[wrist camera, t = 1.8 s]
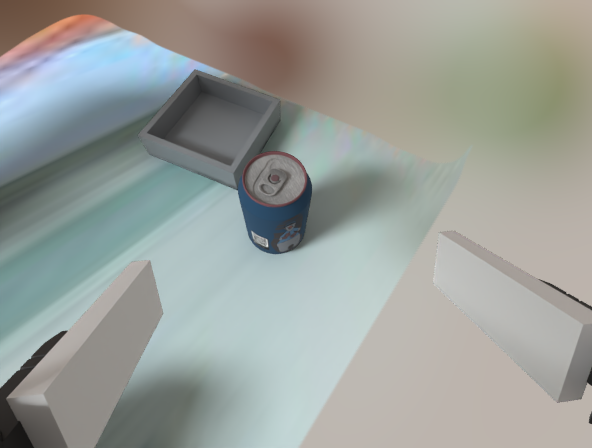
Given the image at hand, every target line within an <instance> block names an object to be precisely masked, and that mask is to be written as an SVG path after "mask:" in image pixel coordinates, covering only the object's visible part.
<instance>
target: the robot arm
mask: <svg viewBox="0 0 592 448" xmlns="http://www.w3.org/2000/svg"><path fill="white" fill-rule="evenodd" d="M433 284H434V285H435V286H436V287H437V288H438V289H439V290H440V291H441V292H442V293H443V294H445V295H446V296H447V297H448V298H449V299H450V300H451V301H452V302H453V303H454V304H455V305H456V306H457V307H458V308H459V309H460V310H461V311H462V312H463V313H464V314H465V315H466V316H467V317H468V318H470V319H471V320H472V321H473V322H474V323H475V324H476V325H477V326H478V327H479V328H480V329H481V330H482V331H483V332H484V333H485V334H486V335H487V336H488V337H489V338H490V339H491V340H493V342H494V343H496V344H497V345H498V346H499V347H500V348H501V349H502V350H503V351H504V352H505V353H506V354H507V355H508V356H509V357H510V358H511V359H512V360H513V361H514V362H515V363H516V364H517V365H518V366H520V367H521V368H522V369H523V370H524V371H525V372H526V373H527V374H528V375H529V376H530V377H531V378H532V379H533V380H534V381H535V382H536V383H537V384H538V385H539V386H540V387H541V388H542V389H543V390H544V391H546V392H547V393H548V394H549V395H550V396H551V397H552V398H553V399H554V400H555V401H556V402H557V403H559V402H566V401H572V400H578V399H582V396H583V393H584V390H585V388H586V385H587V382H588V383H589V384H590V385H591V386H592V307H591V306H589V305H587V304H586V303H584V302H582V301H579V300H578V299H577V298H575V297H574V296H572V295H570V294H566V292H565V291H563V290H561V289H559V288H558V287H556V286H554V285H552V284H550V283H547V282H545V281H542V280H540V279H537V278H535V277H533V276H531V275H530V274H528V273H526V272H524V271H523V270H521V269H519V268H518V267H516V266H514V265H513V264H511V263H509V262H507V261H506V260H503V259H502V258H500V257H499V256H497V255H495V254H493V253H492V252H490V251H488V250H487V249H485V248H483V247H481V246H480V245H478V244H476V243H474V242H473V241H471V240H469V239H468V238H466V237H464V236H462V235H461V234H459V233H457V232H456V231H447V232H439V237H438V246H437V254H436V262H435V270H434V279H433ZM162 315H163V310H162V306H161V302H160V298H159V294H158V290H157V286H156V282H155V278H154V274H153V270H152V266H151V262H150V260H145V261H134V262H131V263H130V264H129V265H128V266H127V267H126V268H125V269H124V271H123V272H122V273H121V274H120V275H119V276H118V277H117V278H116V279H115V280H114V281H113V283H112V284H111V285H110V286H109V287H108V288H107V289H106V290H105V291H104V292H103V293H102V295H101V296H100V297H99V298H98V299H97V300H96V301H95V302H94V303H93V304H92V305H91V307H90V308H89V309H88V310H87V311H86V312H85V313H84V314H83V315H82V316H81V317H80V319H79V320H78V321H77V322H76V323H75V324H74V325H73V326H72V327H71V328H70V329H69V331H62V332H60V333H59V334H57V335H56V336H54V337H53V338H51V339H50V340H48V341H47V342H45V343H44V344H43V345H42V346H41V347H40V348H39V349H38V350H37V351H36V352H35V353H34V354H33V355H32V356H31V359H28V360H27V362H26V363H25V364H24V365H23V366H22V367H21V369H20V370H19V371H17V372H16V373H15V374H14V375H13V376H12V377H11V378H10V379H9V380H8V381H7V382H6V383H5V384H4V385H3V386H2V387H1V388H0V448H95V446H96V444H97V442H98V440H99V438H100V436H101V434H102V432H103V430H104V428H105V426H106V425H107V423H108V421H109V419H110V417H111V415H112V413H113V411H114V409H115V407H116V405H117V403H118V401H119V399H120V397H121V395H122V393H123V391H124V389H125V387H126V385H127V383H128V381H129V379H130V378H131V376H132V374H133V372H134V370H135V368H136V366H137V364H138V362H139V360H140V358H141V356H142V354H143V352H144V350H145V348H146V346H147V344H148V342H149V340H150V338H151V336H152V334H153V332H154V330H155V329H156V327H157V325H158V323H159V321H160V319H161V317H162ZM589 423H590V424H592V413H591V415H590V419H589Z"/></svg>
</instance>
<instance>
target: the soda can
mask: <svg viewBox="0 0 592 448" xmlns="http://www.w3.org/2000/svg"><path fill="white" fill-rule="evenodd" d="M238 195H239V199H240V203H241V207H242V211H243V215H244V219H245V223H246V227H247V231H248V235H249V238H250V240H251V241H252V243H253V244H254V245H255V246H256V247H257V248H259V249H260V250H262V251H264V252H267V253H271V254H281V253H285V252H288V251H290V250H292V249H294V248H295V247H296V246H297V245H298V244H299V243H300V242H301V240H302V238H303V236H304V233H305V227H306V222H307V216H308V211H309V206H310V200H311V195H312V184H311V180H310V178H309V176H308V174H307V173H306V170H305V168H304V166H303V165H302V163H301V162H300V161H299V160H298V159H297V158H295V157H294V156H292V155H290V154H288V153H285V152H279V151H270V152H265V153H261V154H259V155H257V156H255V157H254V158H252V159H251V160H250V161H249V162H248V164H247V165H246V167H245V169H244V171H243V174H242V176H241V178H240V180H239V184H238Z"/></svg>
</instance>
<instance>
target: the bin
mask: <svg viewBox="0 0 592 448" xmlns="http://www.w3.org/2000/svg"><path fill="white" fill-rule="evenodd" d="M279 121H280V99H277V98H274V97H271V96H268V95H266V94H263V93H260V92H257V91H254V90H252V89H249V88H246V87H243V86H240V85H238V84H235V83H232V82H229V81H226V80H224V79H221V78H218V77H215V76H212V75H210V74H207V73H204V72H201V71H198V70H196V69H195V70H194V71H193V72H192V73H191V74H190V76H189V77H188V78H187V79H186V80H185V81H184V82H183V84H182V85H181V86H180V87H179V88H178V89H177V90H176V92H175V93H174V94H173V95H172V96H171V97H170V98H169V100H168V101H167V102H166V103H165V104H164V105H163V106H162V108H161V109H160V110H159V111H158V112H157V113H156V115H155V116H154V117H153V118H152V119H151V120H150V121H149V123H148V124H147V125H146V126H145V127H144V128H143V129H142V131H141V132H140V133H139V134H138V137H139V138H140V140H141V142H142V143H143V145H144V146H145V148H146V149H147V151H148V153H149V154H150V155H153V156H155V157H158V158H160V159H162V160H165V161H167V162H170V163H172V164H175V165H177V166H180V167H182V168H184V169H187V170H189V171H192V172H194V173H197V174H199V175H202V176H204V177H207V178H209V179H211V180H214V181H216V182H219V183H221V184H224V185H226V186H229V187H231V188H234V189H236V190H238V184H239V180H240V178H241V176H242V174H243V171H244V169H245V167H246V165H247V164H248V162H249V161H250V160H251V159H252V158H254V157H255V156H257V155H259V154H260V152H261V151H262V149H263V147H264V146H265V144H266V142H267V141H268V139H269V137H270V136H271V134H272V133H273V131H274V129H275V128H276V126H277V124H278V123H279Z"/></svg>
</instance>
